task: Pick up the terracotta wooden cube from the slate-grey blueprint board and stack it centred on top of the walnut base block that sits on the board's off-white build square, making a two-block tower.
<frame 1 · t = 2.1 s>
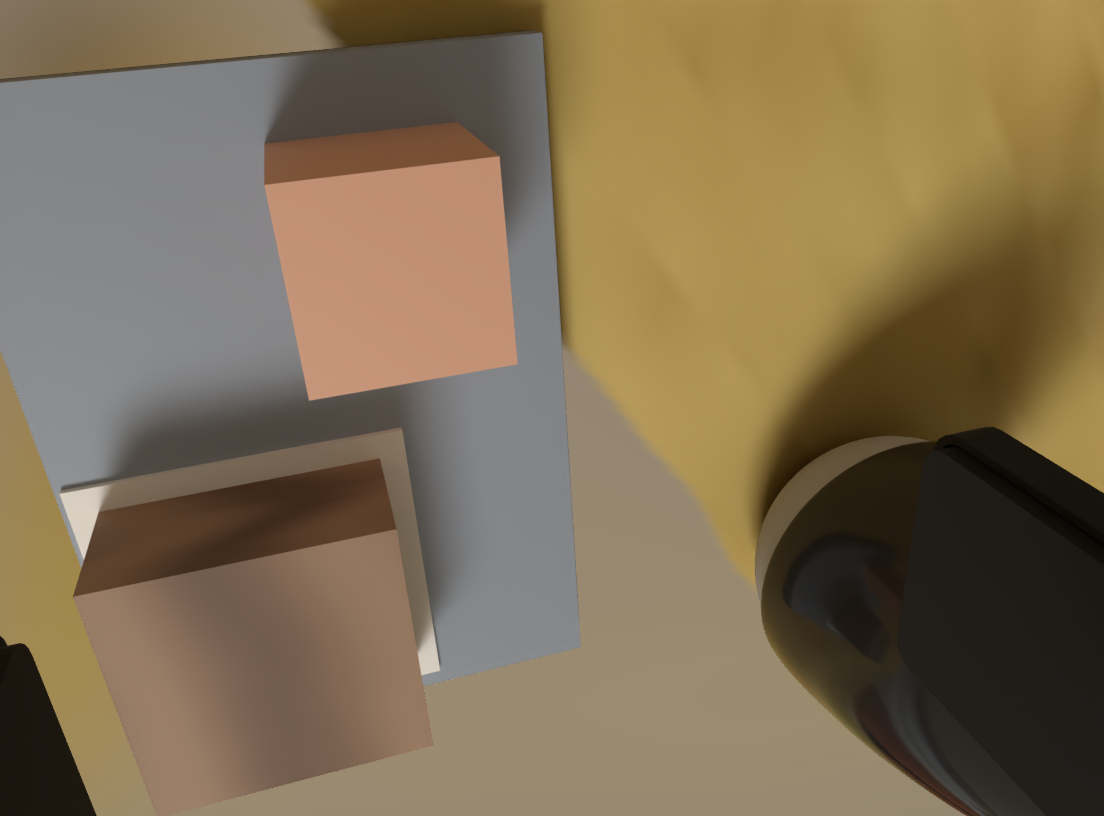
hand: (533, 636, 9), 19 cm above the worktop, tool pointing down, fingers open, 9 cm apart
top cube: (377, 226, 25), point 1 cm above the worktop, touching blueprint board
base block: (271, 592, 28), point 1 cm above the worktop, touching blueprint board
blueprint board: (321, 421, 28), on the worktop
black penguin toy: (834, 511, 36), on the worktop
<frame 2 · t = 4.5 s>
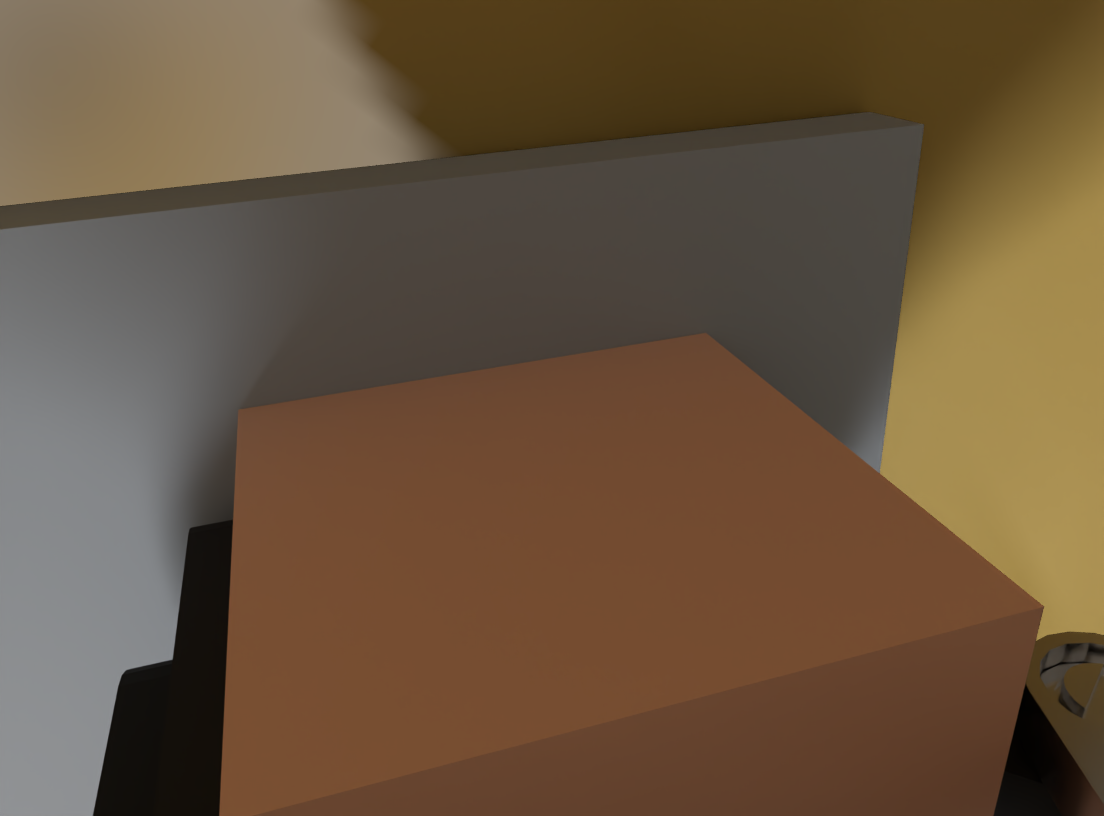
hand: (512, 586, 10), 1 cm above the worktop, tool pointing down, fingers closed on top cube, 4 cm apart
top cube: (504, 563, 11), point 1 cm above the worktop, touching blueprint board, gripper
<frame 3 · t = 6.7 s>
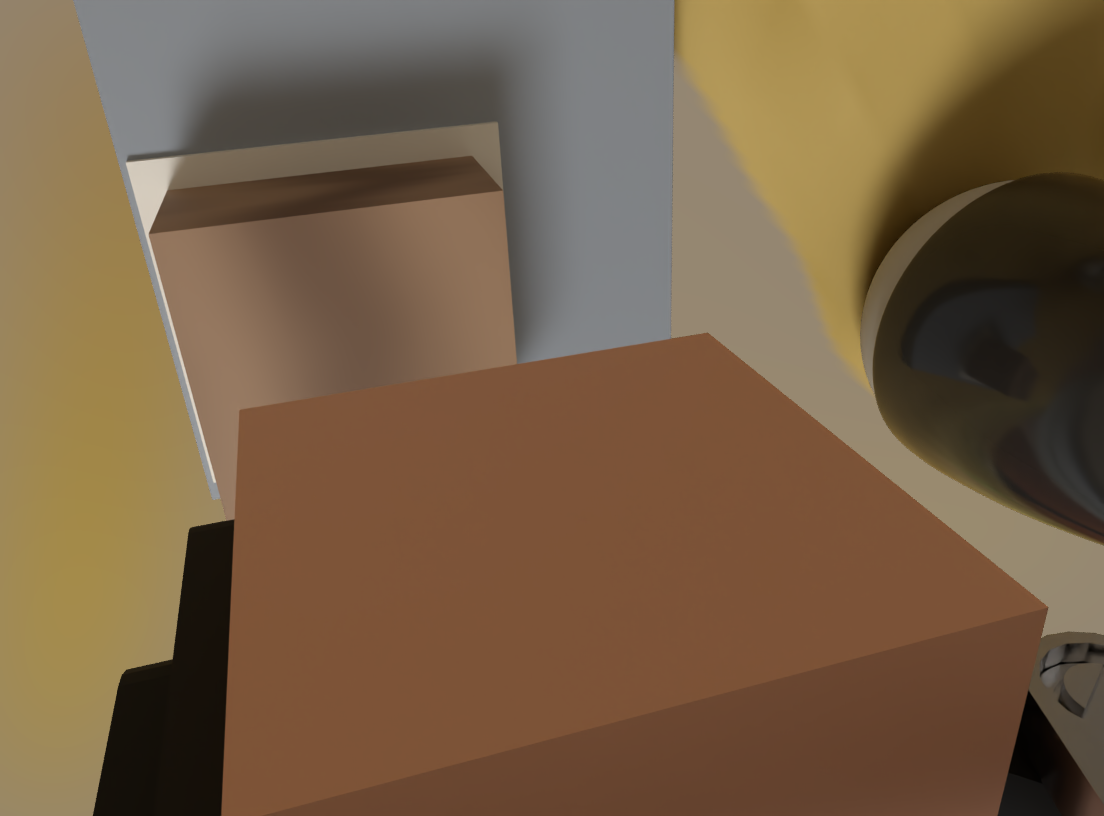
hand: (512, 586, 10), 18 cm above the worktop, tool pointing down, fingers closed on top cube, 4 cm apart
top cube: (505, 564, 11), point 18 cm above the worktop, touching gripper
base block: (348, 311, 26), point 1 cm above the worktop, touching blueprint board
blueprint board: (407, 116, 25), on the worktop
black penguin toy: (940, 289, 33), on the worktop
when the fingers open (6 cm above the worktop, at t = 9.0 s): top cube stays where it is, resting on base block.
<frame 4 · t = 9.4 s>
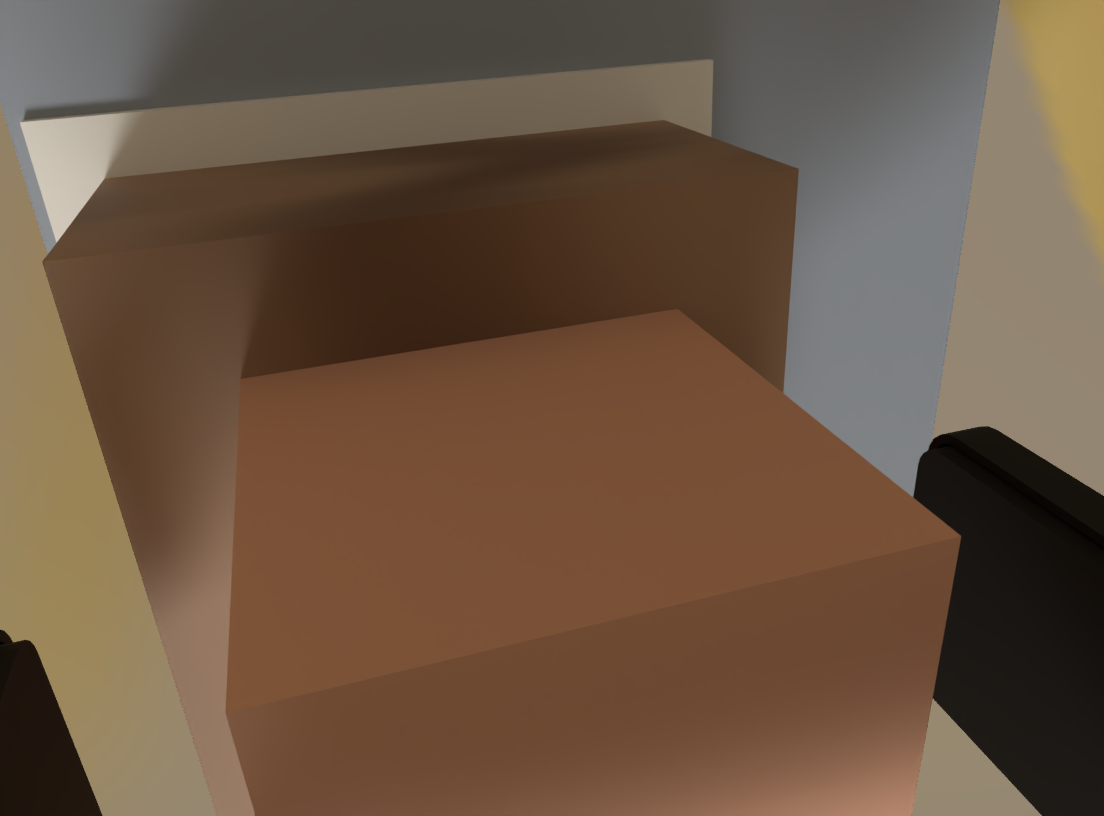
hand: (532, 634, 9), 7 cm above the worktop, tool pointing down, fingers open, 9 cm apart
top cube: (490, 527, 11), point 5 cm above the worktop, touching base block
base block: (434, 398, 15), point 1 cm above the worktop, touching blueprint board, top cube
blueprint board: (544, 52, 14), on the worktop
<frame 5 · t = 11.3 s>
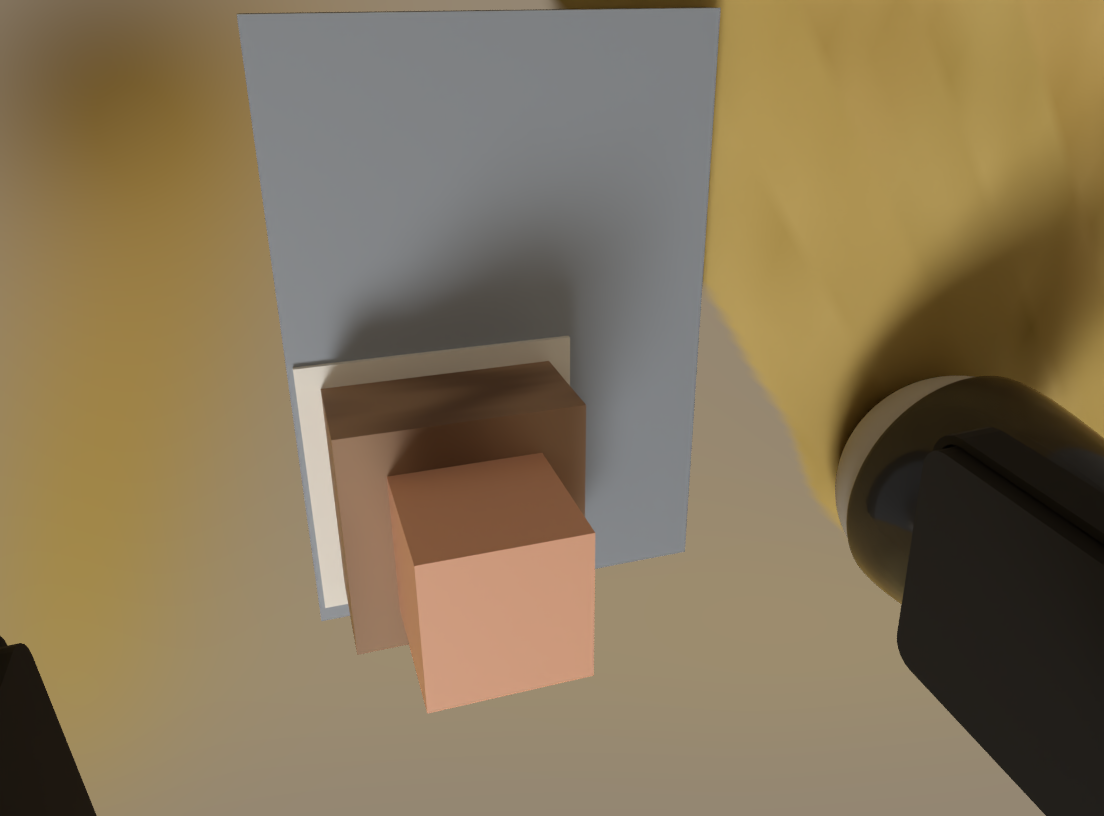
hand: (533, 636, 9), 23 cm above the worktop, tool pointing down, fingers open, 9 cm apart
top cube: (470, 531, 30), point 5 cm above the worktop, touching base block
base block: (445, 475, 33), point 1 cm above the worktop, touching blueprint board, top cube
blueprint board: (499, 328, 33), on the worktop
black penguin toy: (896, 448, 41), on the worktop
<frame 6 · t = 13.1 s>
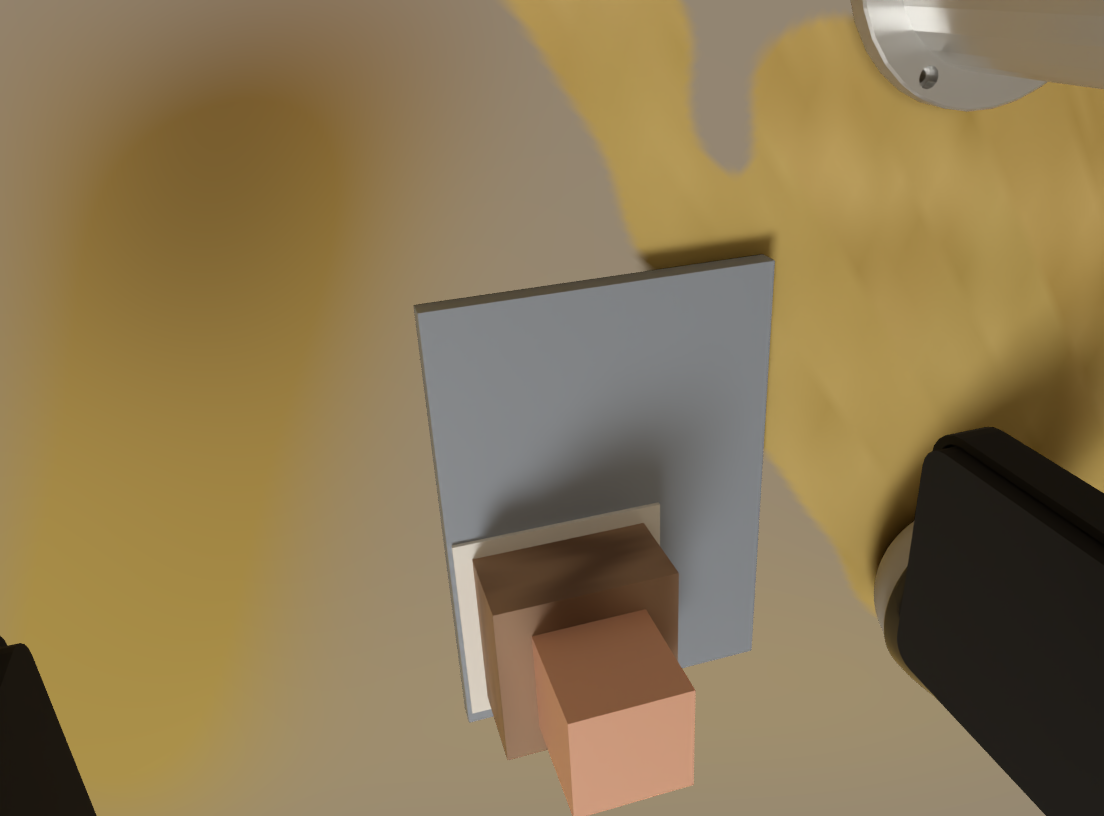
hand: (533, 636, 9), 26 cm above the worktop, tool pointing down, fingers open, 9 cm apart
top cube: (591, 668, 39), point 5 cm above the worktop, touching base block
base block: (564, 611, 42), point 1 cm above the worktop, touching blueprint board, top cube
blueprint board: (603, 497, 42), on the worktop
black penguin toy: (925, 554, 50), on the worktop
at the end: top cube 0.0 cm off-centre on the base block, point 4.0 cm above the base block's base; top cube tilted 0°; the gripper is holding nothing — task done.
